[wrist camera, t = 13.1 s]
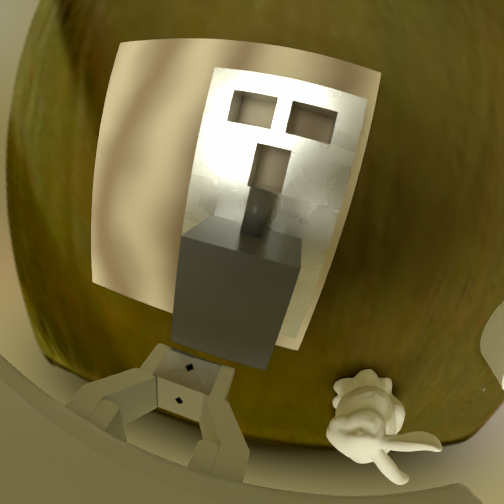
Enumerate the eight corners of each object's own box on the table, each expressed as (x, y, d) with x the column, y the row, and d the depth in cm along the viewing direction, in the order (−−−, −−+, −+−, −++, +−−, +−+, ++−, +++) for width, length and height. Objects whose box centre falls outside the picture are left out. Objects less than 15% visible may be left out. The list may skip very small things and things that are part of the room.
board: (374, 80, 16) (381, 73, 14) (298, 336, 24) (297, 350, 22) (133, 48, 18) (120, 42, 16) (104, 273, 26) (92, 281, 24)
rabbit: (318, 367, 25) (315, 476, 14) (411, 341, 22) (449, 442, 11) (338, 430, 28) (338, 513, 17) (411, 411, 25) (429, 492, 14)
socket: (359, 106, 15) (367, 99, 13) (297, 319, 21) (295, 338, 19) (225, 77, 16) (214, 67, 14) (186, 287, 22) (174, 302, 20)
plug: (311, 195, 17) (316, 216, 11) (277, 310, 21) (265, 370, 14) (227, 173, 18) (188, 184, 12) (206, 290, 21) (171, 340, 15)
